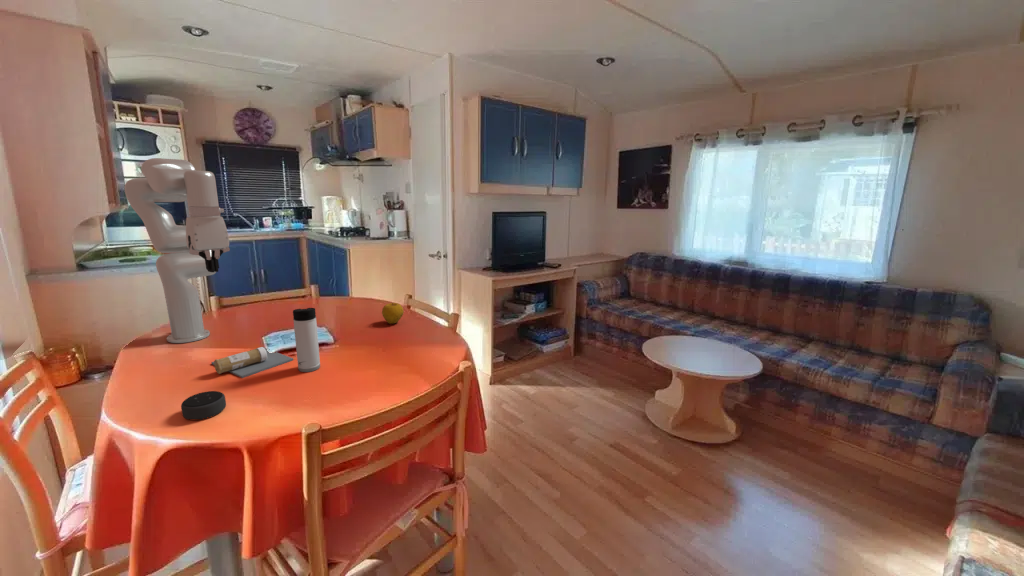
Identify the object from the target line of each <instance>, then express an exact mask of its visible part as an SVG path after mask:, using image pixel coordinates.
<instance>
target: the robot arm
mask: <svg viewBox="0 0 1024 576" xmlns="http://www.w3.org/2000/svg"><path fill="white" fill-rule="evenodd" d="M141 173H142V175H143V176H144V177H135V178H132V179H128V180H127V181H126V182H125V185H124V193H125V196H126V200H127V201H128V203H129V205H130V206H131V208H132V210H133V211H134V212H135V213H136V214H137V216H138V217H139V218H140V219H141V220H142V223H143V224H144V227H145V230H146V232H147V234H148V237H149V239H150V242H151V244H152V246H153V248H154V249H155V250H156V251H157V252H158V253H160V254H161V253H162V254H163V255H161V256H159V257H158V258H157V259H156V261H155V266H156V271H157V273H158V276H159V278H160V281H161V284H162V287H163V293H164V299H165V303H166V309H167V315H168V321H169V327H170V334H169V335H168V336H167V337H166V341H167V342H168V343H171V344H185V343H191V342H195V341H196V342H198V341H200V340H203V339H205V338H206V339H207V338H208V337H209V336H210V334H211V333H210V330H209V329H205V327H204V322H203V321H204V320H203V316H202V315H203V314H202V313H203V312H202V307H201V301H200V294H199V289H198V288H197V287H196V286H195V285H194V284H193V283H191V282H190V281H189V279H193V278H195V279H196V278H201V277H207V276H212V275H215V274H216V273H217V272H218V273H219V269H220V263H219V259H220V258H221V256H222V255H223V253H227V252H230V250H231V249H230V237H229V233H228V229H227V225H226V222H225V220H224V217H223V216H221V215H222V214H221V213H225V209H224V208H223V207H222V208H221V207H220V206H219V198H218V190H217V182H216V177H215V174H214V172H212V171H208V170H196V168H195V166H194V165H193V163H191V162H190V161H188V160H185V159H178V158H177V159H175V158H164V157H163V158H162V157H161V158H159V157H158V158H156V157H155V158H148V159H146V160H145V161H144V162H142V164H141ZM186 201H187V205H188V206H187V207H188V213H189V216H186V218H185V219H186V220H185V225H178V224H176V222H175V220H174V217H173V215H172V213H170V212H169V211H168V210H166V209H165V208H163V207H161V206H160V205H159V204H157V203H183V202H186Z"/></svg>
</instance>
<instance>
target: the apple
mask: <svg viewBox="0 0 1024 576" xmlns="http://www.w3.org/2000/svg"><path fill="white" fill-rule="evenodd" d="M381 315H382V317H383V319H384V320H385V321H386V322H387V323H388V324H389V325H394V324H396V323H398V322H399V321H400V320H401V318H402V317H403V315H404V307H403V306H402V305H401V304H399V303H397V302H390V303H387V304H385V305H384V306H383V307H382V311H381Z"/></svg>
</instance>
